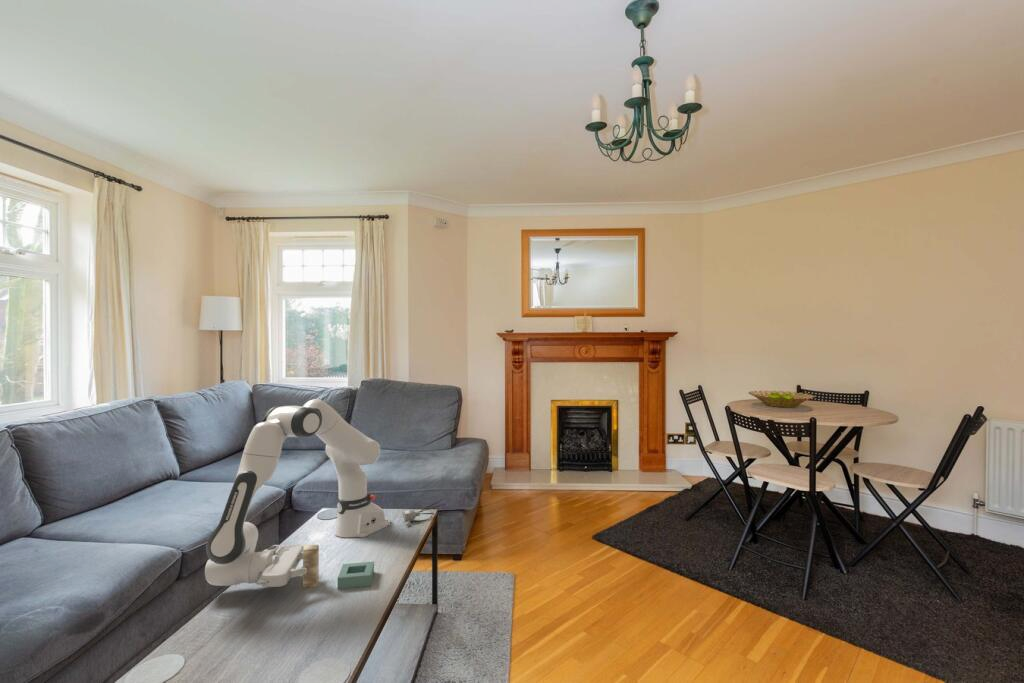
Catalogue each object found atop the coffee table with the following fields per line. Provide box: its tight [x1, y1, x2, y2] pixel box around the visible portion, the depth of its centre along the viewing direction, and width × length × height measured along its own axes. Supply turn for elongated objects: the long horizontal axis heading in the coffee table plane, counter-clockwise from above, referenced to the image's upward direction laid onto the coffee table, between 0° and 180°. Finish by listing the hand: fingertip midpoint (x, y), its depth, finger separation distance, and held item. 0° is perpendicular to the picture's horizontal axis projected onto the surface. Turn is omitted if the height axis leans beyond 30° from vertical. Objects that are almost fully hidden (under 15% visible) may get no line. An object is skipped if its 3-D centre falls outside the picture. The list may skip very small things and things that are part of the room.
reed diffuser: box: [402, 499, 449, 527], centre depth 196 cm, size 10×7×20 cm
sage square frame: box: [337, 561, 375, 590], centre depth 145 cm, size 10×9×4 cm
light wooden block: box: [302, 544, 320, 589], centre depth 143 cm, size 4×3×12 cm
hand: (311, 562), depth 143 cm, fingers open, 8 cm apart
